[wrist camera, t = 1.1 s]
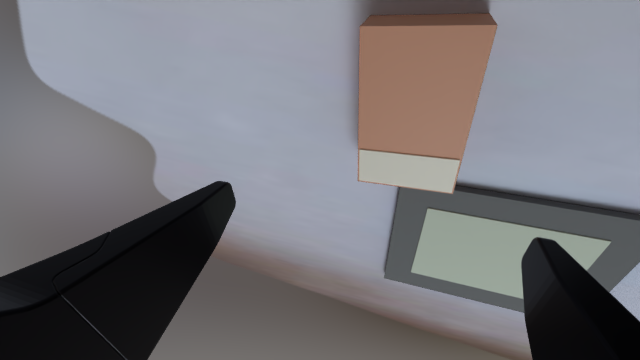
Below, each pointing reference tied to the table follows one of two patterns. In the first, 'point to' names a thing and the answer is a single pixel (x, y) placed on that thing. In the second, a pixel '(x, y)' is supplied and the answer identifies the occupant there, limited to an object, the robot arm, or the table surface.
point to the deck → (419, 96)
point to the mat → (501, 241)
